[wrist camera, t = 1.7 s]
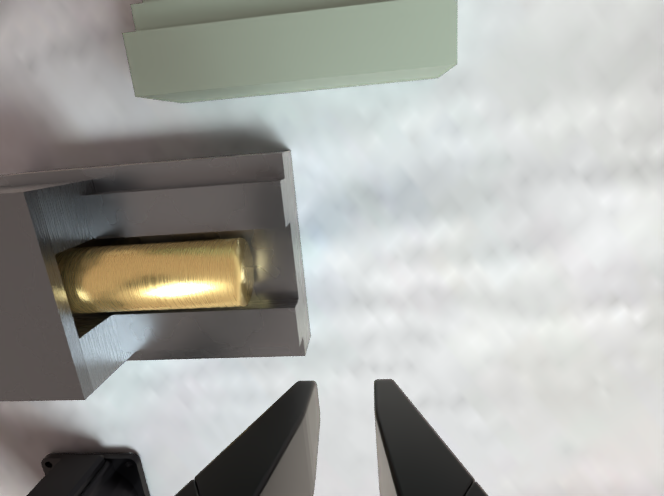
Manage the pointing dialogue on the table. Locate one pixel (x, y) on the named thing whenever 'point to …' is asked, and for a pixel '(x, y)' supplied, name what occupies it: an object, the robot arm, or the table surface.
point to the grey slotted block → (140, 228)
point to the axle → (158, 276)
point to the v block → (285, 45)
